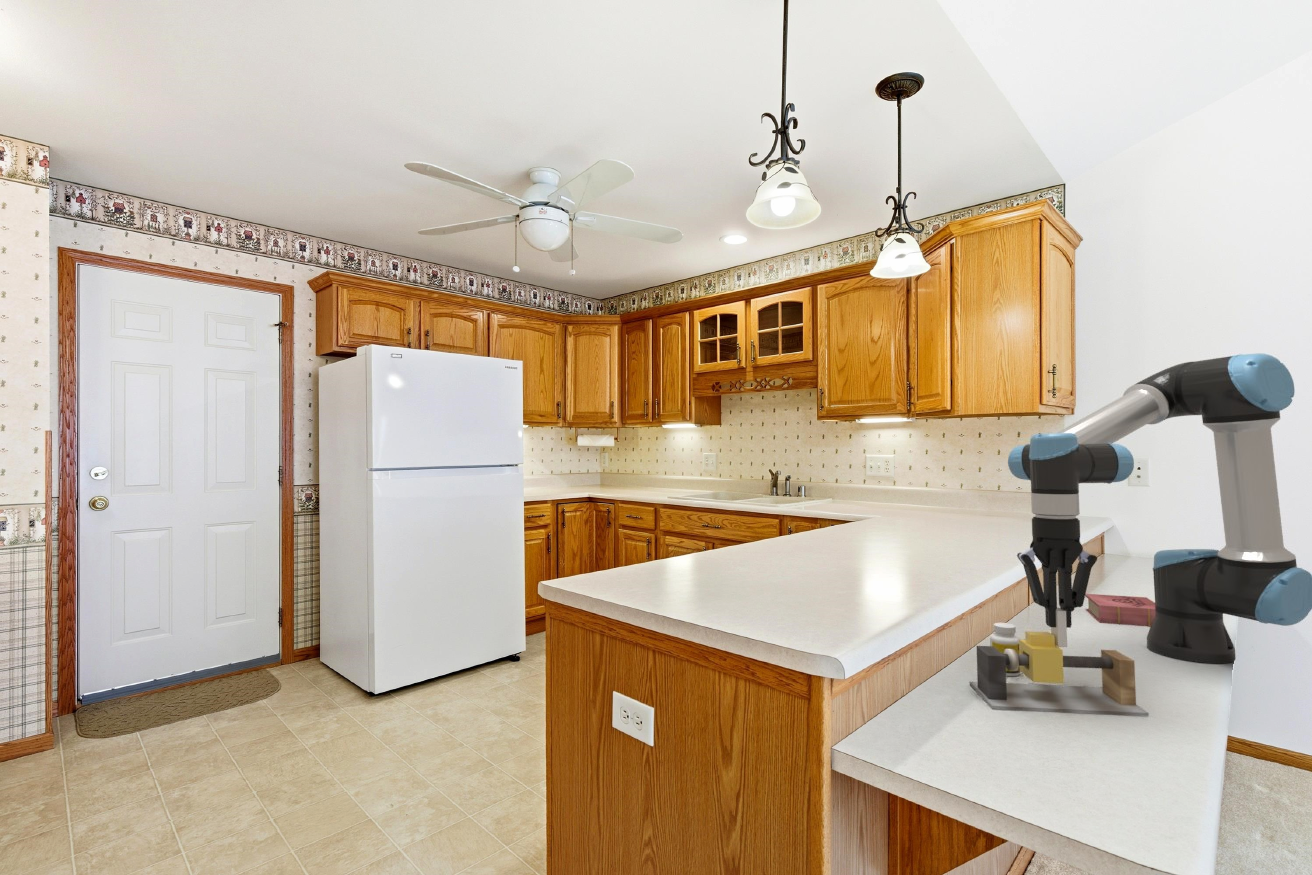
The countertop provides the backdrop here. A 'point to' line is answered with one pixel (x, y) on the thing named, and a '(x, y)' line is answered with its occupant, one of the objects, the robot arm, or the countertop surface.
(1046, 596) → the robot arm
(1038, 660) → the sleeve
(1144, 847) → the countertop surface
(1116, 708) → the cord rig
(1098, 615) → the book
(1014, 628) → the supplement bottle
